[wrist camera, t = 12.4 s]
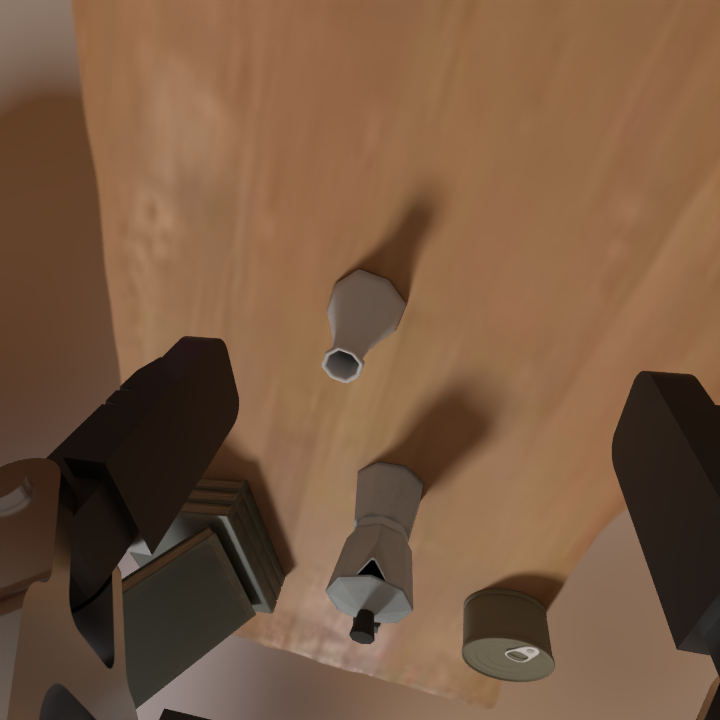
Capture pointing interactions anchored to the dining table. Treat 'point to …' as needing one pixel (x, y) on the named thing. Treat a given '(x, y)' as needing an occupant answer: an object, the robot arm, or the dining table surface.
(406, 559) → the coffee maker
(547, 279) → the dining table surface
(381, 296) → the flask
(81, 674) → the robot arm
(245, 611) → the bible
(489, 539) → the dining table surface
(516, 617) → the can
